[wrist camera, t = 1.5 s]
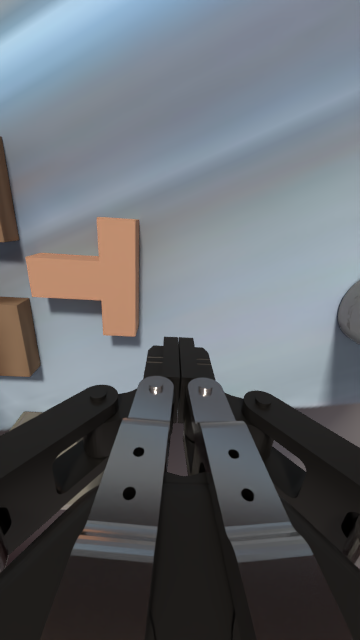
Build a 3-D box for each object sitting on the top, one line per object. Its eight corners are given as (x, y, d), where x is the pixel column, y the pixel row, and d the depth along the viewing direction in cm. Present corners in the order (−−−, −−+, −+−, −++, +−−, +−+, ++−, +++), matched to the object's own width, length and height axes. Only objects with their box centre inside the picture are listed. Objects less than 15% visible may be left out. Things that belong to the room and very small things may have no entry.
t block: (139, 219, 26) (135, 220, 23) (138, 325, 30) (135, 336, 28) (34, 212, 25) (18, 211, 23) (50, 321, 30) (37, 332, 27)
